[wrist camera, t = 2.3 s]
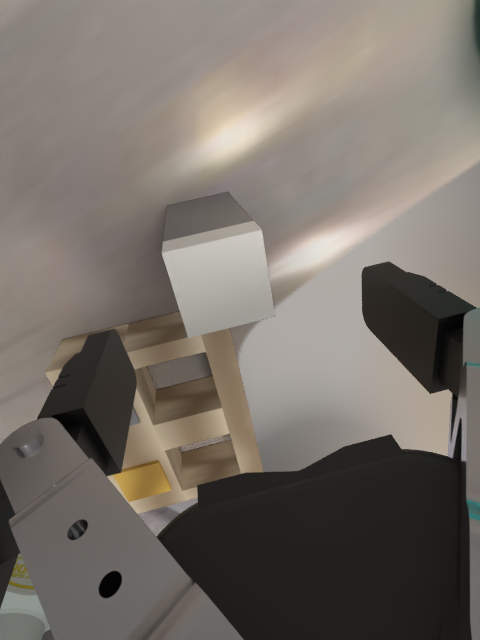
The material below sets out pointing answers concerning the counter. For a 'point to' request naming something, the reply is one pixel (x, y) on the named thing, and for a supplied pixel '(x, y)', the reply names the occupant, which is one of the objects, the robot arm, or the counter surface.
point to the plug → (216, 264)
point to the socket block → (177, 414)
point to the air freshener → (21, 608)
